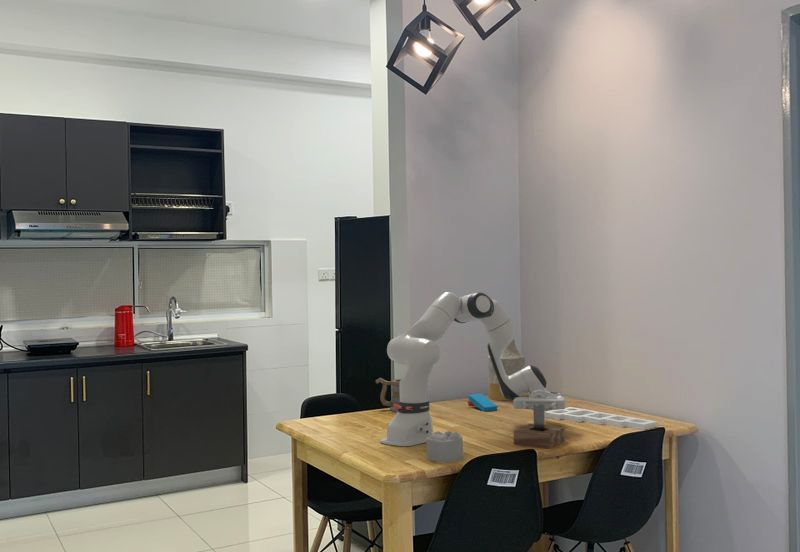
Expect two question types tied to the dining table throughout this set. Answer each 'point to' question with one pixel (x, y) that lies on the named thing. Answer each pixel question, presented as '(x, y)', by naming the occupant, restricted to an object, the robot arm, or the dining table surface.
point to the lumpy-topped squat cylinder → (444, 447)
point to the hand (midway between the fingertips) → (539, 406)
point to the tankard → (394, 388)
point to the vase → (511, 365)
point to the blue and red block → (481, 402)
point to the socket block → (539, 436)
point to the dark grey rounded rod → (539, 417)
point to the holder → (600, 418)
